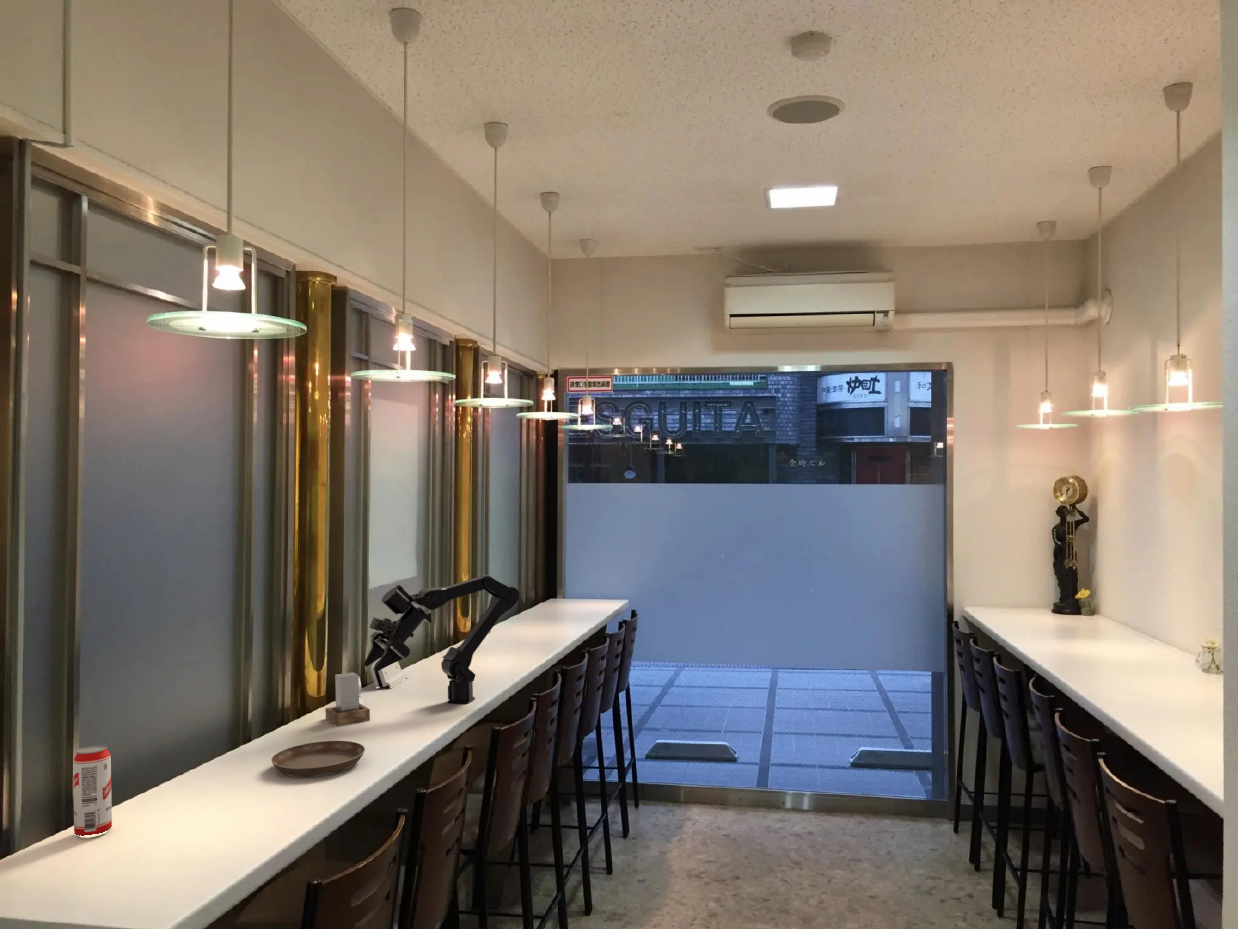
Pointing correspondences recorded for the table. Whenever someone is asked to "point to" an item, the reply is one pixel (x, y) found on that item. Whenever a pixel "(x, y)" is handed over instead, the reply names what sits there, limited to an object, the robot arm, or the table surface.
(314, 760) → the plant saucer
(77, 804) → the beer can
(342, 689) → the grey block
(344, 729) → the table surface
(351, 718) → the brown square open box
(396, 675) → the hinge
